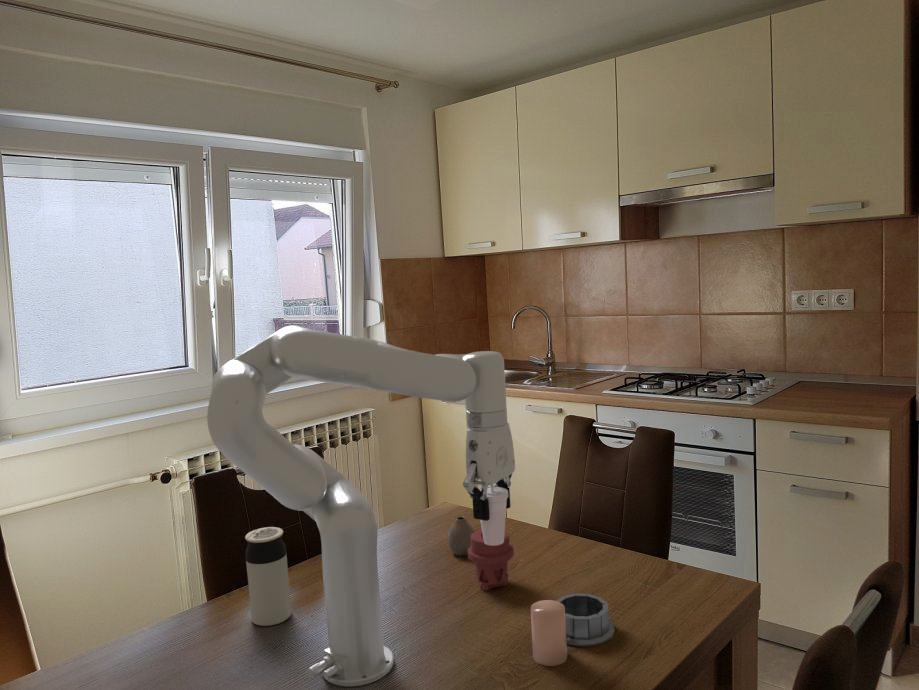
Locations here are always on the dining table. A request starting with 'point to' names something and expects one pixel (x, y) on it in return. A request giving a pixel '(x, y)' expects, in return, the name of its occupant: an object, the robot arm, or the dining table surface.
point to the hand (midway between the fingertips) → (492, 512)
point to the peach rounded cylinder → (549, 632)
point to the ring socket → (586, 620)
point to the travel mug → (267, 576)
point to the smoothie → (495, 516)
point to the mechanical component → (490, 560)
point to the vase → (460, 536)
